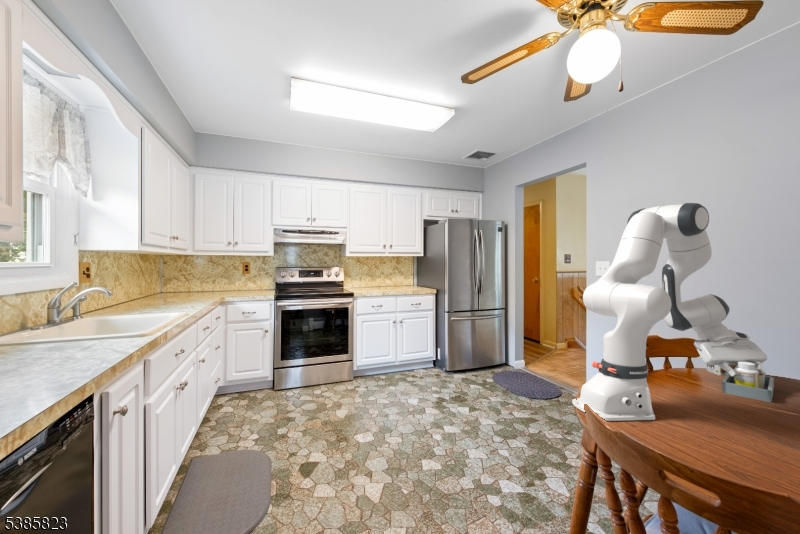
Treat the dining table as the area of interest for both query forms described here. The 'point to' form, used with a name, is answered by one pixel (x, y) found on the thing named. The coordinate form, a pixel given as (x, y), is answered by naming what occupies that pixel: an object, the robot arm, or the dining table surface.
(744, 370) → the supplement bottle
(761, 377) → the off-white plain cube block
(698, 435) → the dining table surface
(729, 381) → the tray
